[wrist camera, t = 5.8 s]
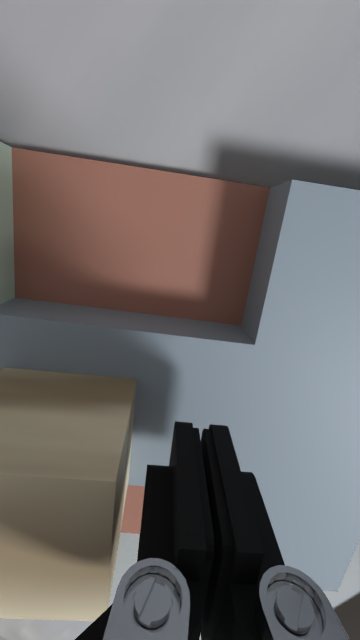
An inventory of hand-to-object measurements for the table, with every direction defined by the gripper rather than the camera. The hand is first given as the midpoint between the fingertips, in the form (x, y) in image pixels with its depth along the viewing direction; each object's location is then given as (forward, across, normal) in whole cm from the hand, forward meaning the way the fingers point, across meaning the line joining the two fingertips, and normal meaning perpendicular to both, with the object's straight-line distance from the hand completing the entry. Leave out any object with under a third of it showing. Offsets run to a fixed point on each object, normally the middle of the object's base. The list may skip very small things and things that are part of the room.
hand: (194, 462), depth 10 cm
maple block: (+2, +4, 0) cm, 5 cm away
